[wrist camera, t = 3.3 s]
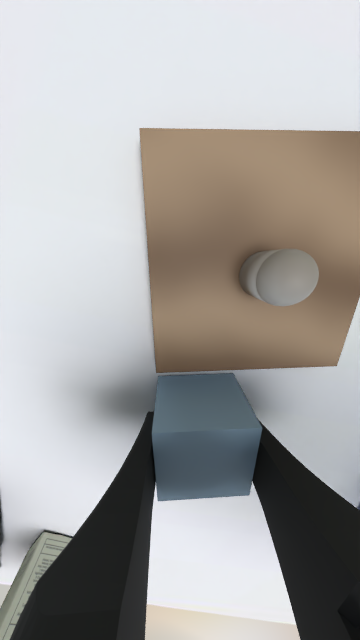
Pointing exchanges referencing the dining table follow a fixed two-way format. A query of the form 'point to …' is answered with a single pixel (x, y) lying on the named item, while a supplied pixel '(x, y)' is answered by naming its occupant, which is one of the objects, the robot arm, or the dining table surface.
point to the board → (251, 246)
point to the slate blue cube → (203, 437)
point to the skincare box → (29, 579)
